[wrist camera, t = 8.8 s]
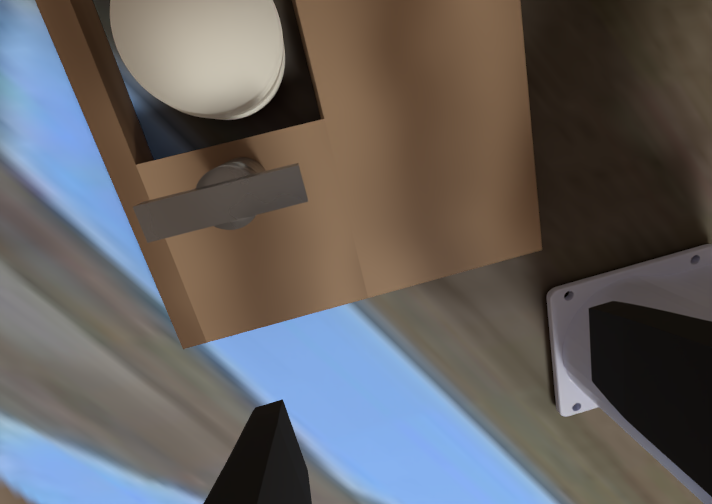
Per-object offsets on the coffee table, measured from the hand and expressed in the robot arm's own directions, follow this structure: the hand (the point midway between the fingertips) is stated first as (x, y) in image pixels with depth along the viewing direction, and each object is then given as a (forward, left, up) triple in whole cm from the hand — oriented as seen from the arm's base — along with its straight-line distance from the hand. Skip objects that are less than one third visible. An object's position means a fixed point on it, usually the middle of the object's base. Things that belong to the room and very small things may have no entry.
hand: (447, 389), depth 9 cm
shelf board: (+1, -6, -10) cm, 12 cm away
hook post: (+4, -5, -8) cm, 10 cm away
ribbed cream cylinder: (+4, -9, -11) cm, 14 cm away
